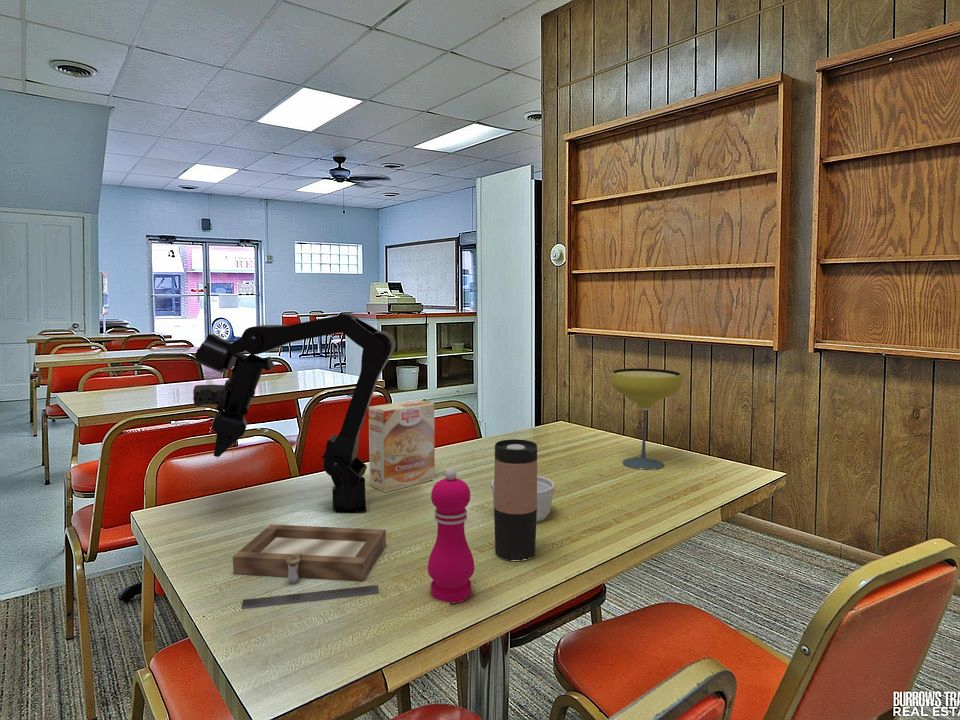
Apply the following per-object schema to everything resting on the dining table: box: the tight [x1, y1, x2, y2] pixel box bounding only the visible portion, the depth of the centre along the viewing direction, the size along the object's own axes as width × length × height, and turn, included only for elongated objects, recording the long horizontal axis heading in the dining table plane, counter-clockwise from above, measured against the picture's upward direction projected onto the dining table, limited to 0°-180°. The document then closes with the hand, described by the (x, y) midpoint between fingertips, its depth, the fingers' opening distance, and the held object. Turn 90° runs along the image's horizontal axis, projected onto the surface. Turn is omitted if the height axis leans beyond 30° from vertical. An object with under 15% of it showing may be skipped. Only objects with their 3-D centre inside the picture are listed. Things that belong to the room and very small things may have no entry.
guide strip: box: [240, 584, 380, 610], centre depth 94 cm, size 20×2×1 cm, turn 104°
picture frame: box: [232, 523, 387, 582], centre depth 106 cm, size 22×17×4 cm
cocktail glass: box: [610, 367, 683, 469], centre depth 166 cm, size 18×18×25 cm
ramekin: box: [490, 475, 555, 523], centre depth 130 cm, size 13×13×7 cm
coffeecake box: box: [368, 399, 436, 493], centre depth 150 cm, size 15×7×20 cm, turn 131°
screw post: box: [287, 563, 300, 585], centre depth 99 cm, size 2×2×4 cm
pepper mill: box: [427, 468, 475, 603], centre depth 95 cm, size 7×7×20 cm
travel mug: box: [493, 438, 538, 561], centre depth 110 cm, size 8×8×20 cm
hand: (217, 448), depth 132 cm, fingers open, 9 cm apart
